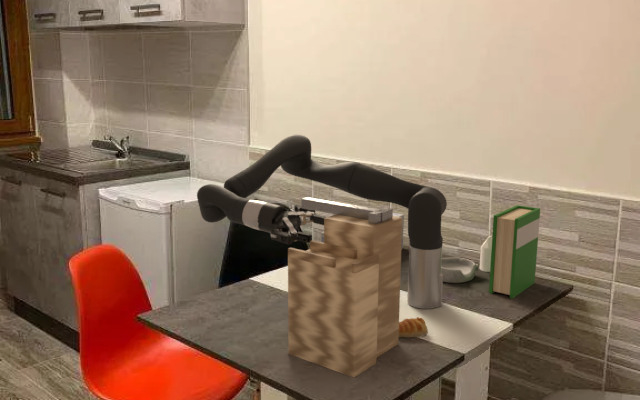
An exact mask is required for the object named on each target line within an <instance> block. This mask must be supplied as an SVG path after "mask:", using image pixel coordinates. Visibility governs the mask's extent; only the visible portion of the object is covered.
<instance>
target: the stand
mask: <svg viewBox="0 0 640 400" xmlns="http://www.w3.org/2000/svg"><path fill="white" fill-rule="evenodd" d="M325 217H326V216H325ZM323 228H324V229H323V232H324V243H323V242H321V241H318V240H314V239H312V241H310V243H309V248H308V249H307V250H304V249H298V248H295V247H288V248H287V295H288V296H287V297H288V298H287V311H288V313H287V315H288V317H287V319H288V322H287V323H288V327H287V329H288V332H287V333H288V335H287V336H288V339H287V340H288V354H289V355H291V356H294V357H297V358H299V359H302V360H305V361H308V362H310V363H313V364H315V365H318V366H321V367H324V368H327V369H329V370H332V371H334V372H337V373H339V374H340V373H341V374H343V375H345V376H348V377H351V378H355V377H357V376H359V375H360V374H362V373H363V372H365V371H366V370H368V369H370V368H371V367H373V366H374V365H376V364H377V358H378V357H380V356H382V355H383V354H385V353H387V352H388V351H389V350H391V349H393V348H394V347H396V346H397V345H399V340H400V339H399V338H400V337H399V322H400V302H401V301H400V300H401V276H402V275H401V270H402V249H401V244H402V218H401V217H396V216H393V218H392V219H391V220H388V221H386V222H383V223H379V224H376V225H375V224H370V223H369V220H364V219H359V218H353V217H348V216H342V215H337V214H333V215H331V216H330V215H329V216H327V217H326V218H324V225H323Z"/></svg>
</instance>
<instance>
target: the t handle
mask: <svg viewBox="0 0 640 400" xmlns="http://www.w3.org/2000/svg"><path fill="white" fill-rule="evenodd" d="M301 208H304V209H310V210H315V212H321V213H328V214H333V215H336V214H337V215H342V216H348V217H353V218H359V219H364V220H369V223H370V224H375V225H376V224H379V223H383V222H386V221H388V220H391V219H392V218H393V213H394V212H393V209H394V208H389V207H382V208H380V209H379V208H374V207H368V206H363V205H362V206H361V205H355V204H352V203H344V202H338V201H334V200H326V199H321V198H314V197H309V196H307V197H306V196H305V197H303V198H301Z"/></svg>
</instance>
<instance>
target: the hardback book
mask: <svg viewBox="0 0 640 400" xmlns="http://www.w3.org/2000/svg"><path fill="white" fill-rule="evenodd" d="M540 217H541V208H538V207H531V206H524V205H517V204H516V205H514V206H512V207H510V208H507V209H506V210H503V211H501V212H498V213H496V214H494V215H493V218H492V221H493V222H492V250H491V266H490V272H489V273H490V274H489V283H488V284H489V285H488V294H494V293H495V292H496V293H500V294H504V295H508V296H509V298H510V299H514V298H515V297H516V296H518V295H519V294H521V293H523V292H525V290H527V289H528V288H530V287H531V286H533V285H534V284H535V283H536V267H537V257H538V256H537V255H538V245H539V244H538V243H539V233H540V232H539V231H540Z"/></svg>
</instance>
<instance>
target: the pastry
mask: <svg viewBox="0 0 640 400" xmlns="http://www.w3.org/2000/svg"><path fill="white" fill-rule="evenodd" d="M428 333H429V330H428V326H427V323H426V321H425V319H424V318H423V317H416V318H412V317H411V318H405V319H403V320H402V321H399V338H410V339H411V338H417V337H419V338H420V337H425V336H427V334H428Z"/></svg>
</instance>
